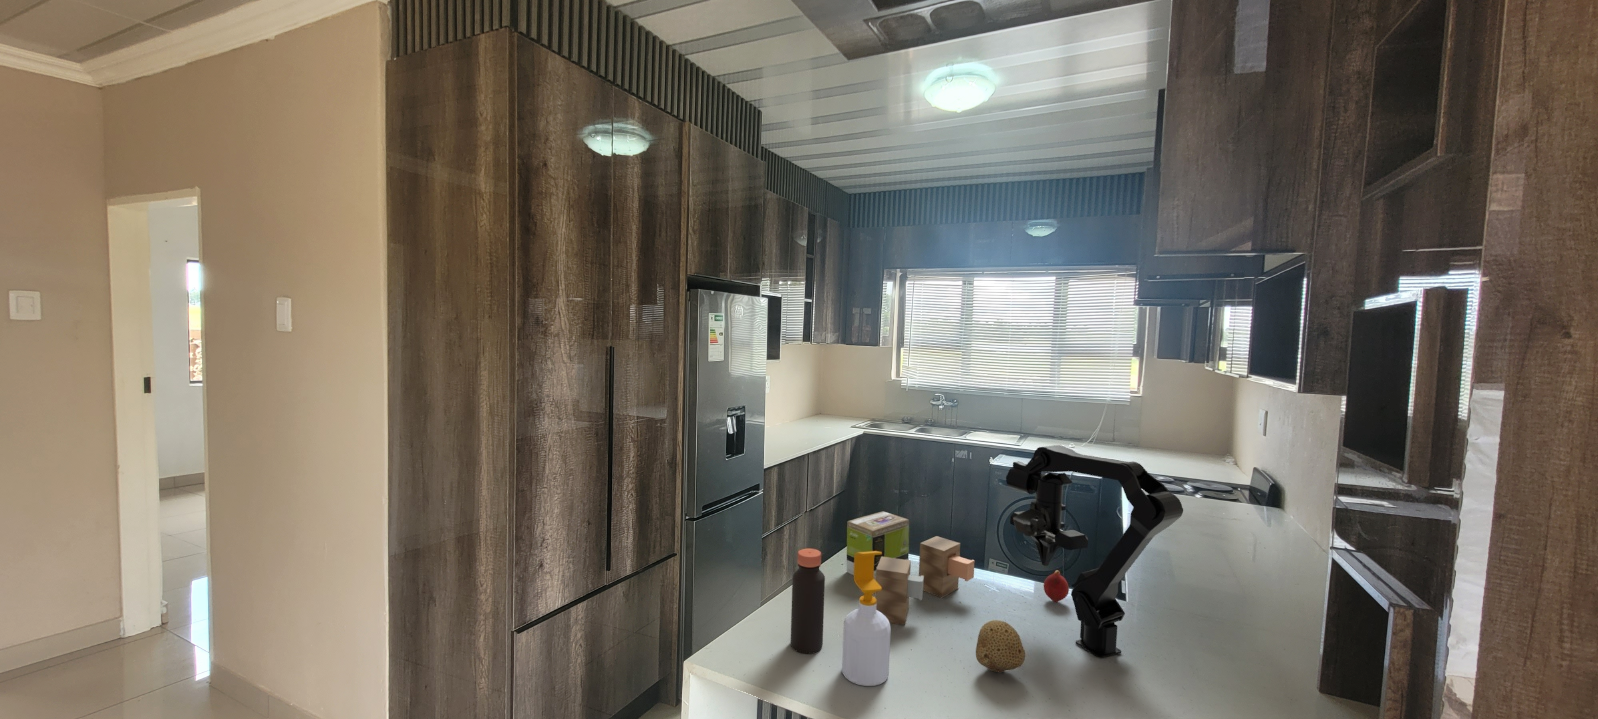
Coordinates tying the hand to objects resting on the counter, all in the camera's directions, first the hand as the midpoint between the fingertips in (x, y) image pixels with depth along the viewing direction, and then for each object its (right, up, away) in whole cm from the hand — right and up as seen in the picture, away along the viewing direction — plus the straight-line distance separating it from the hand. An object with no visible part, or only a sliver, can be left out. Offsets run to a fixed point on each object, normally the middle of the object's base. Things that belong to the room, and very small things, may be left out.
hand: (1045, 565), depth 140 cm
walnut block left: (-36, -12, +1) cm, 38 cm away
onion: (+7, -13, +10) cm, 18 cm away
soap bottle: (-45, -13, -23) cm, 52 cm away
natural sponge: (-18, -14, -22) cm, 31 cm away
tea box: (-36, -11, +25) cm, 45 cm away
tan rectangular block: (-17, -6, +12) cm, 22 cm away
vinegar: (-56, -12, -14) cm, 59 cm away
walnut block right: (-21, -11, +16) cm, 29 cm away
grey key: (-33, -7, 0) cm, 33 cm away
